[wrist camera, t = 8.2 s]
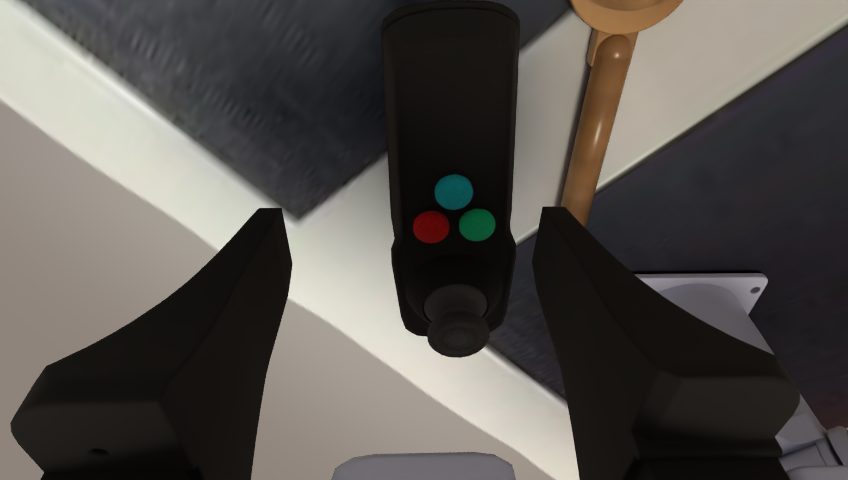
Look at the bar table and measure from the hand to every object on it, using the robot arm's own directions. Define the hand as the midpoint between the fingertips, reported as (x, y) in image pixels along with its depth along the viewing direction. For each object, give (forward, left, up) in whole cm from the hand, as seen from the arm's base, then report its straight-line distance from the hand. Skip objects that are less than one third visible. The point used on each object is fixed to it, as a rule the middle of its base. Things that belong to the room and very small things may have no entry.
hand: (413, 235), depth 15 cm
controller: (-1, -1, -10) cm, 10 cm away
